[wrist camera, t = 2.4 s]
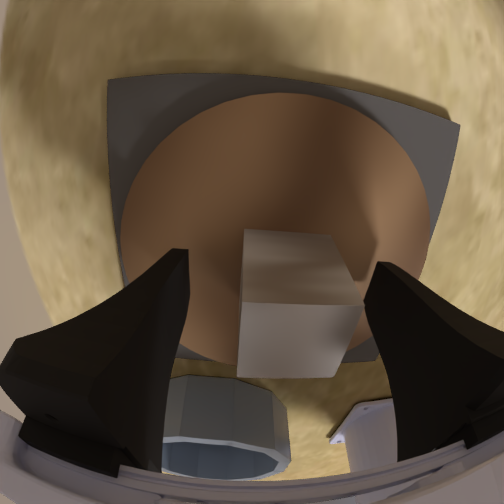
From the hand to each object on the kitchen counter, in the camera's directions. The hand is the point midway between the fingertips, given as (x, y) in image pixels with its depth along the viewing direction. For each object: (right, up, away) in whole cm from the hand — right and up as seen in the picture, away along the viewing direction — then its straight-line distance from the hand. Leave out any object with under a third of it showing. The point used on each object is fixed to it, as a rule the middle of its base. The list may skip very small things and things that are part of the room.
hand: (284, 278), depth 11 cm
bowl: (-4, -12, +9) cm, 15 cm away
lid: (0, +1, +1) cm, 2 cm away
